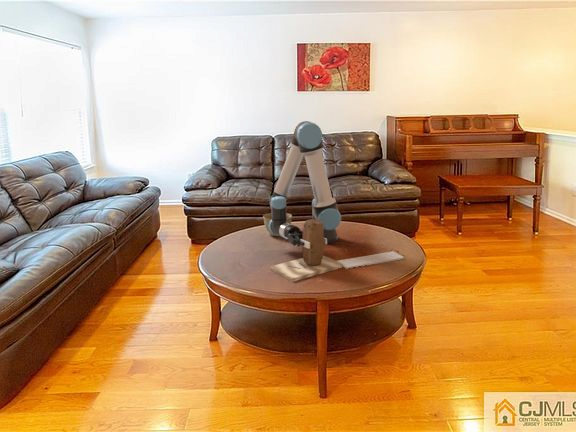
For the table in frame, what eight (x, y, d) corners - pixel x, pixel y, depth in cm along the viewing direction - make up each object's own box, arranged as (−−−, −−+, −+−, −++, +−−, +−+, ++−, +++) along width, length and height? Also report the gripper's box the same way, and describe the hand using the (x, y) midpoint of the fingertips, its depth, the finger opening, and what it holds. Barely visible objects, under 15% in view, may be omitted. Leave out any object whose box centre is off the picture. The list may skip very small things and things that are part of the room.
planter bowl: (286, 239, 254) (285, 220, 251) (259, 237, 259) (258, 218, 257) (296, 231, 268) (295, 213, 266) (270, 229, 274) (269, 211, 271)
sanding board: (319, 256, 226) (319, 253, 226) (343, 267, 211) (343, 264, 211) (270, 269, 211) (270, 266, 211) (292, 281, 197) (292, 278, 196)
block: (323, 265, 210) (325, 222, 205) (308, 266, 207) (310, 223, 203) (314, 258, 220) (316, 217, 215) (299, 259, 217) (301, 218, 213)
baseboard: (334, 261, 220) (345, 270, 209) (334, 256, 219) (345, 264, 208) (390, 252, 230) (404, 260, 219) (390, 246, 230) (404, 254, 219)
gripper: (308, 235, 232) (336, 246, 214) (271, 243, 221) (298, 256, 203) (307, 221, 230) (336, 231, 212) (271, 228, 219) (298, 240, 201)
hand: (318, 243), depth 208 cm, fingers closed on block, 9 cm apart
